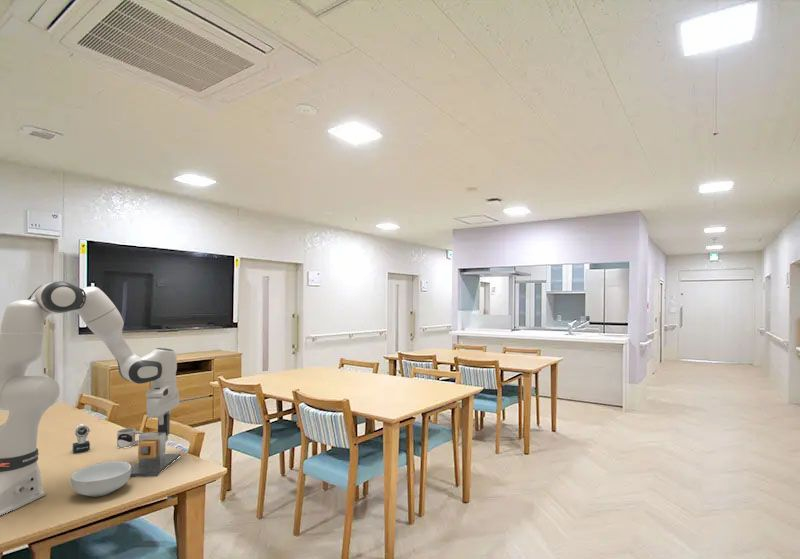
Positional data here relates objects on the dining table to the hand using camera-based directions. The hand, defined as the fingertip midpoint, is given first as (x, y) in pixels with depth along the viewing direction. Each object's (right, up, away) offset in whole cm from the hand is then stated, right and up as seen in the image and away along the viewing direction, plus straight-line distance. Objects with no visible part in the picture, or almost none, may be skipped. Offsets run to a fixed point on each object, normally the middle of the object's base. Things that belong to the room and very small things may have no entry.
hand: (163, 423), depth 182 cm
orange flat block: (0, -9, -13) cm, 15 cm away
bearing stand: (0, -14, -9) cm, 17 cm away
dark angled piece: (0, -7, -7) cm, 10 cm away
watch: (-39, -15, +9) cm, 43 cm away
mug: (-23, -15, +16) cm, 31 cm away
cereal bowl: (-5, -13, -31) cm, 34 cm away
